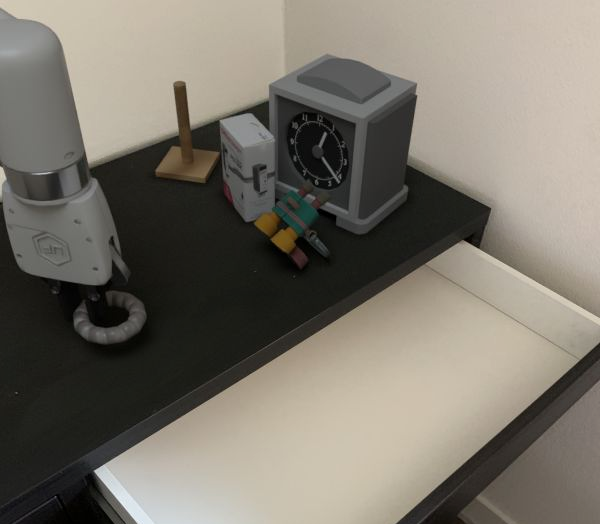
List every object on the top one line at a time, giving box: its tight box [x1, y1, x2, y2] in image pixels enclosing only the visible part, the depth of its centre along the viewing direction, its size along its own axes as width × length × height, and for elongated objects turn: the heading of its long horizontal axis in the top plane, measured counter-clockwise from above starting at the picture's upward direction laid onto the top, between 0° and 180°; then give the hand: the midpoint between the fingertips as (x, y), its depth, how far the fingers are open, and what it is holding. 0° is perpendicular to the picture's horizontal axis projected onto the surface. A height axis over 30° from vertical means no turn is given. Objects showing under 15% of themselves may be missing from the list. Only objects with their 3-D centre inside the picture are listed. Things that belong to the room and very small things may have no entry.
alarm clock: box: [268, 53, 418, 235], centre depth 94 cm, size 18×13×18 cm
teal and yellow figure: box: [253, 179, 331, 270], centre depth 87 cm, size 9×9×10 cm
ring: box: [73, 290, 148, 346], centre depth 75 cm, size 8×8×2 cm
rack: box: [154, 80, 221, 184], centre depth 100 cm, size 8×8×13 cm
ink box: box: [219, 112, 276, 223], centre depth 94 cm, size 9×5×12 cm, turn 27°
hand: (87, 315), depth 76 cm, fingers closed on ring, 2 cm apart
